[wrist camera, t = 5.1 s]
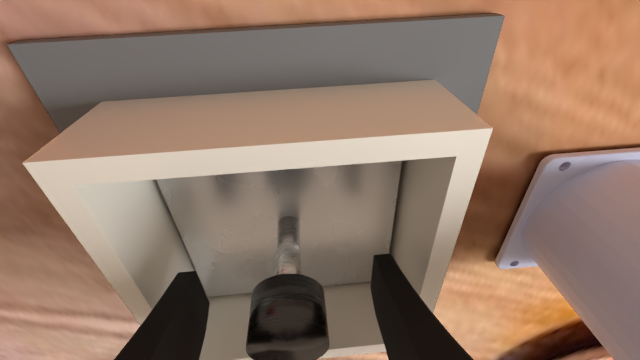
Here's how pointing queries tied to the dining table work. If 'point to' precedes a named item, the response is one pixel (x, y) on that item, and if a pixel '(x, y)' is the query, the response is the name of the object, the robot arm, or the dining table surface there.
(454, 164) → the white square frame
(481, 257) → the dining table surface
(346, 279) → the plunger
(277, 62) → the slate mat
